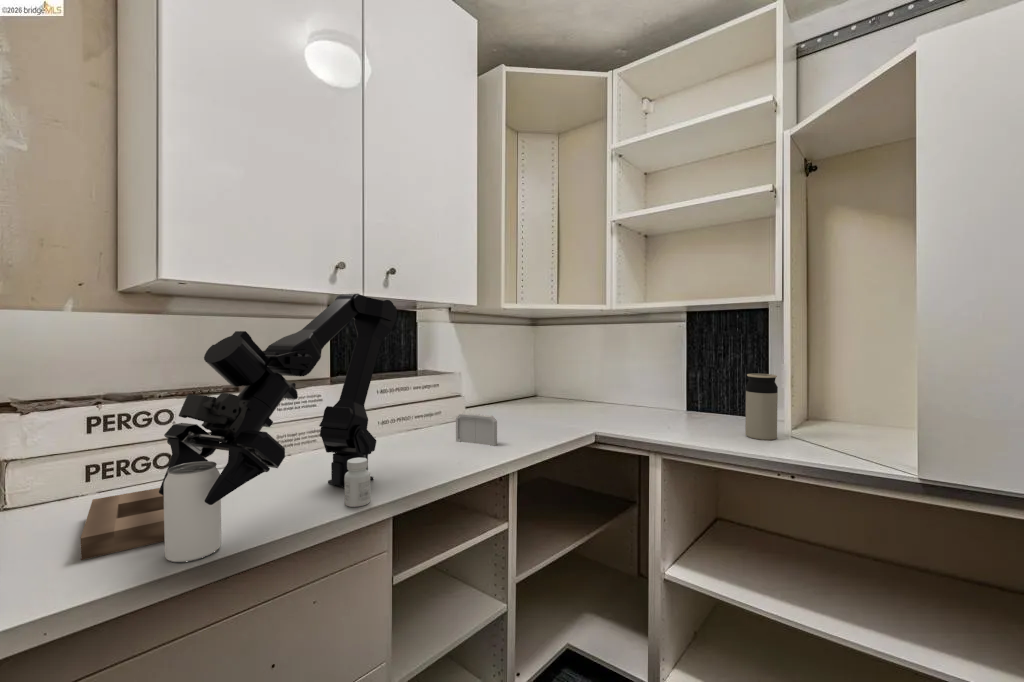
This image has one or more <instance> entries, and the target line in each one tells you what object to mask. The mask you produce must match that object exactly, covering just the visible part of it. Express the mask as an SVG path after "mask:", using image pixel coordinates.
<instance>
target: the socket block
mask: <svg viewBox="0 0 1024 682" xmlns="http://www.w3.org/2000/svg"><path fill="white" fill-rule="evenodd" d="M159 490H160V487H157V488H151V489H146V490H139V491H132V492H129V493H122V494H117V495H111V496H104V497H100V498H93V499H92V500H91V504H90V507H89V510H88V513H87V516H86V520H85V523H84V527H83V529H82V532H81V535H80V561H85V560H89V559H93V558H97V557H102V556H105V555H110V554H113V553H119V552H122V551H128V550H132V549H136V548H139V547H145V546H149V545H153V544H158V543H161V542H165V539H164V496H163V495H161V494H160V493H159Z"/></svg>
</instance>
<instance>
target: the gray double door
mask: <svg viewBox="0 0 1024 682" xmlns="http://www.w3.org/2000/svg"><path fill="white" fill-rule="evenodd" d="M455 442H456V443H470V444H479V445H484V446H485V445H487V446H491V447H496V446H497V445H498V420H496V418H495V417H494V416H493V415H487V414H485V415H484V414H480V413H479V414H477V413H466V412H465V413H464V412H462V413H459V414H458V416H456V417H455Z"/></svg>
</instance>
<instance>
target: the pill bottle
mask: <svg viewBox="0 0 1024 682" xmlns="http://www.w3.org/2000/svg"><path fill="white" fill-rule="evenodd" d="M367 466H368V467H369V460H368V461H367V459H366V458H352V459H349V460H348V461H347V469H348V470H349V471H348V472H347V473H346V474H345V478H344V480H345V488H344V504H345V505H346V506H347V507H350V508H357V507H362V506H363V507H364V506H366V505H368V504H369V503H370V502H371V497H372V496H371V481H370V476H371V471H369V469H368V470H366V468H367Z"/></svg>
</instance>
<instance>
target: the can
mask: <svg viewBox="0 0 1024 682" xmlns="http://www.w3.org/2000/svg"><path fill="white" fill-rule="evenodd" d="M167 469H168V468H167ZM167 469H166V472H168V475H167V477H166V479H165V481H164V539H165V541H164V556H165V557H164V558H165V559H166V560H168V561H169V562H170V561H171V562H170V563H174V562H185V563H187V562H186V561H191V562H193V561H192V560H196V559H199V560H201V559H200V558H202V557H205V556H207V557H209V556H210V555H209V554H211V555H213V554H214V551H216V550H217V549H218V550H219V549H220V547H221V545H222V499H220V500H219V501H217V502H216V503H214V504H213V505H208V504H207V503H205V499H206V497H207V495H208V493H209V491H210V490H211V488H212V486H213V485H214V483H215V482H216V480H217V479H218V477H219V475H220V474H221V472H220V471H219V470H218V467H217V463H216V462H215V461H209V460H208V461H199V462H191V463H185V464H181V465H177V466H174V467H171V468H170V469H168V470H167ZM218 550H217V551H218ZM217 551H216V552H217ZM212 553H213V554H212ZM208 555H209V556H208ZM205 558H206V557H205ZM202 559H203V558H202ZM196 561H197V560H196Z"/></svg>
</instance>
